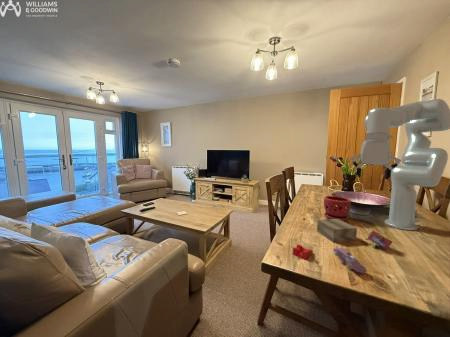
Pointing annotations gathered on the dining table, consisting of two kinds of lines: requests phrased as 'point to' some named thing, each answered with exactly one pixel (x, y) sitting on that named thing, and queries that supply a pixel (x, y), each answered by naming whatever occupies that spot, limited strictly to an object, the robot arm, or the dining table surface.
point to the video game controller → (349, 260)
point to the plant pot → (334, 211)
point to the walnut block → (336, 230)
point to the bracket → (302, 252)
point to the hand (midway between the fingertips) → (372, 178)
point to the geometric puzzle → (379, 240)
